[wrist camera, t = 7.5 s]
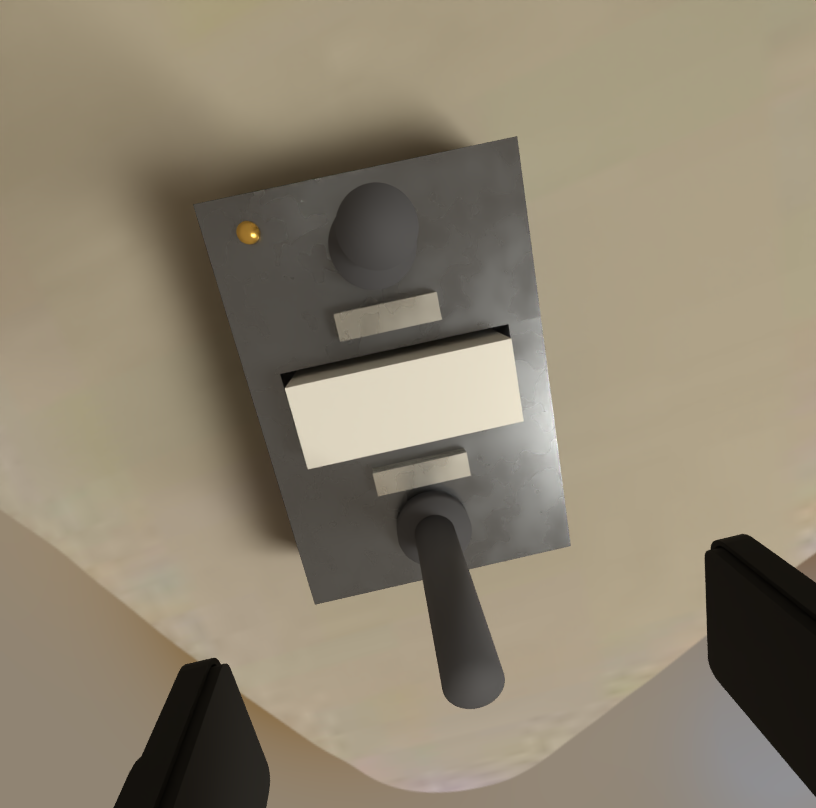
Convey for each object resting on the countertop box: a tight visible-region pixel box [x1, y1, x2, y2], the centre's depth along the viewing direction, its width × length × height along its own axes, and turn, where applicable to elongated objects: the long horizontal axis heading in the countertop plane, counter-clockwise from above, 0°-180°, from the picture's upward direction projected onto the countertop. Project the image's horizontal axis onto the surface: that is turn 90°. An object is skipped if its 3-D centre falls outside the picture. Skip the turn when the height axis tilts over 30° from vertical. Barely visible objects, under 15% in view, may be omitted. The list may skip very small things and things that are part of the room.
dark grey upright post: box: [328, 182, 419, 290], centre depth 22 cm, size 5×5×13 cm
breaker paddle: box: [285, 328, 524, 469], centre depth 32 cm, size 5×13×7 cm, turn 102°
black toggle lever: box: [397, 491, 505, 709], centre depth 27 cm, size 5×5×13 cm
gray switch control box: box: [193, 136, 571, 604], centre depth 33 cm, size 26×18×7 cm
